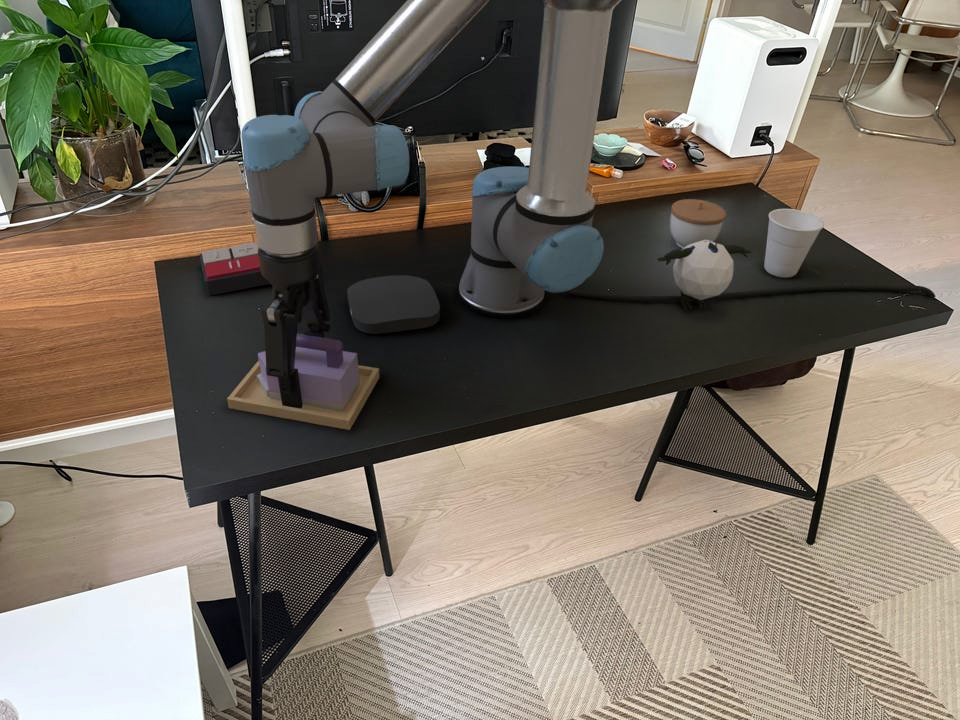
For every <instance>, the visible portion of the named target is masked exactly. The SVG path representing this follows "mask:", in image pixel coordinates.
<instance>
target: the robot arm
mask: <svg viewBox="0 0 960 720" xmlns="http://www.w3.org/2000/svg"><path fill="white" fill-rule="evenodd" d="M621 1H623V0H542V3H543V6H544V7H543V17H542V20H543V21H542V28H541V38H540V48H539V49H540V50H539V61H538V70H537V72H538V73H537V80H536V81H537V82H536V90H535V91H536V92H535V101H534V102H535V103H534V111H533V112H534V114H533V123H532V124H533V125H532V133H531V144H530V155H529V165H528V167H527V166H497V167H492V168H488V169H484V170H482V171H480V172H479V173H478V174H476V176H475V177H474V180H473V185H472V191H471V197H472V198H471V227H470V228H471V229H470V231H471V232H470V255H469V258H467V261H466V263H465V268H464V270H463V272H462V275H461V278H460V281H459V285H458V298H459V300H460V301H461V303H462V304H463V305H464V306H465V307H466V308H468V309H470V310H471V311H473V312H474V313H477V314H480V315H484V316H487V317H493V318H505V319H507V318H508V319H509V318H519V317H523V316H526V315H529V314H531V313H534V312H535V311H537V310H538V309H540V308H541V307H542V305H543V303H544V301H545V291H546V292H548V293H555V294H557V293H558V294H559V293H563V294H566V295H567V294H568V295H572V296H577V297H585V298H591V299H598V300H599V299H600V300H610V301H621V302H623V301H625V302H680V301H681V295H626V294H612V293H602V292H601V293H600V292H593V291H584V290H579V289H575V288H577V287H579V286H580V285H582V284H583V283H584V282H585V281H586V280H587V279H588V278H590V277H591V276H592V275H593V274H594V272H595V271H596V270H597V269H598V267H599V265H600V263H601V261H602V259H603V255H604V249H605V245H604V243H605V242H604V239H603V237H602V236H601V234H600V231H599V230H598V229H597V228H594V227H593V221H594V215H595V213H594V212H595V207H596V200H595V197H594V196H593V195H592V194H591V193H590V192H589V190H588V184H589V175H590V169H591V163H592V162H591V161H592V155H593V150H594V149H593V147H594V142H595V134H596V128H597V127H596V126H597V121H598V120H597V119H598V113H599V106H600V99H601V93H602V86H603V78H604V71H605V65H606V57H607V51H608V45H609V44H608V43H609V37H610V30H611V22H612V16H613V10H614V9H615V7H616V6H618V4H619V3H620V2H621ZM488 2H490V0H406V1H405V2H404V3H403V4H402V6H401V7H400V8H399V9H398V10H397V11H396V12H395V14H393V15H392V16H391V18H390V19H389V20H388V21H387V22H386V23H385V24H384V26H382V27H381V29H380V30H379V31H378V32H377V33H376V34H375V35H374V36H373V37H372V38H371V39H370V41H369V42H368V43H367V44H366V45H365V46H364V47H363V48H362V49H361V50H360V51H359V53H358V54H357V55H356V56H355V57H354V58H353V59H352V60H351V62H349V64H348V65H347V66H346V67H344V69H343V70H342V71H341V72H340V73H339V74H338V76H337V77H336V78H335V79H334V80H333V81H332V82H331V83H330V84H329V85H328V86H327V87H326V88H325V89H324V90H323V91H320V90H319V91H313V92H310V93H308V94H306V95H304V96H303V97H302V98H301V99H300V100H299V102H298V103H297V104H296V107H295V110H294V113H293V114H294V115H289V114H282V115H278V114H267V115H266V114H265V115H261V116H257V117H254V118H252V119H250V120H248V121H247V122H246V123H244V125H243V126H242V128H241V144H242V145H241V146H242V154H243V155H242V156H243V157H242V158H243V160H242V163H243V166H244V172H245V178H246V184H247V191H248V196H249V203H250V207H251V214H252V215H251V216H252V218H251V221H252V223H253V226H254V233H255V239H256V241H255V242H257V245H258V247H259V248H258V257H259V263H260V270H261V274H262V276H263V277H264V278H265V279H266V280H268V281H269V282H270V283H271V284H272V285H271V286H272V295H271V299H272V303H271V304H270V306H265V305H263V306H262V307H261V310H260V314H261V318H262V323H263V330H264V348H265V349H264V351H265V353H266V373H267V375H268V376H273V377H278V381H279V388H280V394H281V401H282V406H288V407H294V408H299V409H301V408H302V407H303V404H302V397H301V389H300V381H299V374H298V369H296V368H294V365H295V352H296V340H297V334H298V327H299V326H298V325H299V324H301V323H302V322H303V324H304V325H305V328H306V329H307V330H305V332H304V333H303V335H310V336H316V337H322V338H325V333H329V332H330V331H331V324H330V323H329V324H328V323H326V322H329V321H330V319H331V314H330V309H329V304H328V303H329V302H328V298H327V293H326V289H325V283H324V279H323V264H322V263H321V256H320V247H319V244H318V242H319V232H318V222H317V214H316V206H315V199H317V198H324V197H331V196H337V195H347V194H353V193H361V192H370V191H376V190H377V191H381V190H382V189H388V188H391V187H397V186H400V185H402V184H404V183H405V182H406V180H407V178H408V176H409V172H410V152H409V147H408V143H407V140H406V137H405V135H404V134H403V132H402V130H401V129H400V128H399V127H398V126H396V125H393V124H384V125H383V124H382V125H381V124H375V123H376V122H377V120H378V119H380V117H381V116H382V115H383V114H384V113H385V112H386V111H387V110H388V109H389V108H390V107H391V106H392V104H393V103H394V102H395V101H396V100H397V99H398V98H399V97H400V96H401V95H402V94H403V93H404V92H405V91H406V89H408V88H409V86H410V85H411V84H412V83H413V82H414V81H415V80H416V79H417V78H418V77H419V76H420V75H421V74H422V73H423V71H424V70H425V69H426V68H428V66H429V65H430V64H431V63H432V62H433V61H434V60H435V59H436V57H438V56H439V54H441V52H442V51H443V50H444V49H445V48H446V47H447V46H448V45H449V44H450V43H451V42H452V41H453V40H454V38H455V37H456V36H457V35H459V34H460V32H461V31H462V30H463V29H464V28H465V27H466V26H467V25H468V24H469V23H470V22H471V21H472V19H474V18H475V16H477V14H478V13H479V12H480V11H481V10H482V9H483V8H484V7H485V6H486V5H487V3H488ZM917 288H918V289H917ZM919 289H920V290H921V291H920V290H919ZM815 291H817V292H819V291H890V292H909V291H910V292H922V293H925V294H926V295H927V296H928V295H929V296H928V297H929V298H933V299H934V298H936V294H935V292H933V290H931V289H930V288H929V287H926V286H922V285H890V284H889V285H886V284H821V285H802V286H789V287H778V288H776V287H775V288H767V289H755V290H747V291H745V290H744V291H734V292H733V291H732V292H722V293H721V294H720V295H718V296H714V297H710V298H707V299H703V301H709V300H710V301H711V300H723V299H735V298H744V297H757V296H765V295H766V296H767V295H776V294H777V295H778V294H789V293H801V292H815ZM930 296H931V297H930ZM695 299H696V298H694V297H691V296H690V299H689V302H693V301H694V300H695ZM290 315H292V316H290Z"/></svg>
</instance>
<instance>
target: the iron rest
mask: <svg viewBox="0 0 960 720" xmlns="http://www.w3.org/2000/svg"><path fill="white" fill-rule="evenodd" d="M358 372H359V386H358V388H357V389H356V391H355V393H354V394H353V396H352V398H351V399H350V401H349V403H348V404H347V406H346V408H345V409H344V411H337V410H332V409H326V408H320V407H315V406H309V405H304V404H303V407H302V408H301V409H299V408H294V407H288V406H282V401H281V400H275V399H270V396H268V397H267V395H266V393H265V392H264V390H263V389H262V387H261V385H260V384H259V382H258V379H257V375H258V374H261V370H260V364H259V360H257V362H256V363H255V364H254V365H253V366H252V368H251V369H250V370H249V371H248V372H247V374H246V375H245V376H244V378H243V379H242V380H241V381H240V382H239V384H238V385H237V386H236V387H235V389H233V391H232V392H231V393H230V395H228V397H227V398H226V401H227V405H228V409H231V410H237V411H242V412H249V413H253V414H257V415H258V414H259V415H263V416H269V417H270V416H271V417H276V418H281V419H286V420H292V421H297V422H304V423H308V424H314V425H319V426H324V427H329V428H337V429H342V430H347V431H351V429H352V427H353V425H354V423H355V422H356V420H357V418H358V416H359V415H360V413H361V411H362V409H363V408H364V406H365V404H366V402H367V401H368V398H370V395H371V393H372V391H373V390H374V388H375V386H376V384H377V383H378V381H379V379H380V368H378V367H372V366H367V365H359V364H358Z"/></svg>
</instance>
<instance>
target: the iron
mask: <svg viewBox="0 0 960 720" xmlns="http://www.w3.org/2000/svg"><path fill="white" fill-rule="evenodd" d="M343 349H344V344H343V342H342V341H341V340H339V339H334V338H328V337H324V338H322V337H316V336H310V335H304V333H297V340H296V352H295V365H294V368H296V369H298V374H299V381H300V389H301V397H302V404H304V405H309V406H315V407H320V408H326V409H332V410H337V411H344V409H345V408H346V406H347V404H348V403H349V401H350V399H351V398H352V396H353V394H354V393H355V391H356V389H357V388H358V386H359V372H358V365H359V360H358V353H357V352H351V351H345V350H343ZM257 358H258V361H259V364H260V370H261V374H258V375H257V379H258V382H259V384H260V385H261V387H262V389H263V390H264V392H265V393H266V395H267V397H268V396H270V399H275V400H281V394H280V388H279V381H278V377H273V376H268V375H267V373H266V353H265V350H264V351H260V352H258V353H257Z"/></svg>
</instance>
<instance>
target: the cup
mask: <svg viewBox="0 0 960 720" xmlns="http://www.w3.org/2000/svg"><path fill="white" fill-rule="evenodd" d="M824 227H825V224H824V221H823V220H822V219H821V218H820V217H819V216H818V215H815V214H813V213H812V212H811V213H810V212H807V211H804V210H800V209H796V208H795V209H794V208H776V209H774V210H772V211H770V212H769V213H768V227H767V236H766V237H767V238H766V244H765V245H766V247H765V253H764V255H765V256H764V263H763V268H764V270H765V271H766V272H767V273H768V274H769V275H772V276H774V277H776V278H777V277H778V278H784V279H785V278H786V279H787V278H792V277H794V276H796V275H797V274H798V272H799V270H800V268H801V267H802V265H803V262H805V259H806V257H807V255H808V254H809V252H810V250H811V248H812V246H813V244H814V243H815V241H816V239H817V238H818V236H819V234H820V232H821V230H822V229H823V228H824Z"/></svg>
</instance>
